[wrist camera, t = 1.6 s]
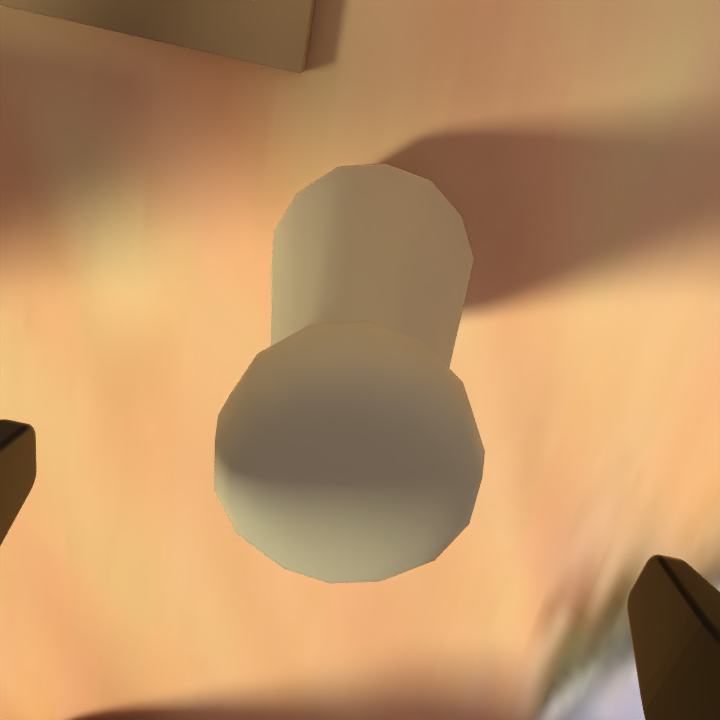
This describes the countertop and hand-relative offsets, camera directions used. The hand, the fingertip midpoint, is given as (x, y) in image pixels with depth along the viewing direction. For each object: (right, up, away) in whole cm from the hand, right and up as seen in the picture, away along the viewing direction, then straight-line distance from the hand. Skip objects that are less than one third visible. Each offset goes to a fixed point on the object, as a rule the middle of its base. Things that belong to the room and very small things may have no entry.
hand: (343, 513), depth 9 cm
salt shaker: (+1, +6, +12) cm, 13 cm away
